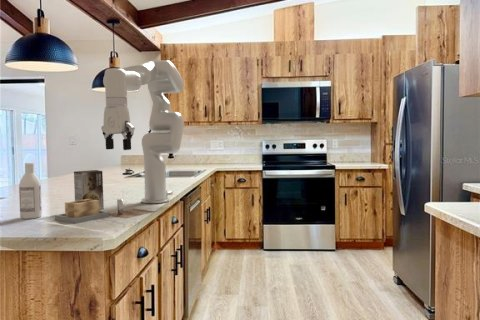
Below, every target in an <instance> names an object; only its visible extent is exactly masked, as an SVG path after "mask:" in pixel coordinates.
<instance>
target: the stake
mask: <svg viewBox="0 0 480 320" xmlns="http://www.w3.org/2000/svg"><path fill="white" fill-rule="evenodd" d="M116 200H117V201H116V203H117V204H116V205H117V212H118V215H123V211H124V199H123V198H122V199H121V198H119V199H116Z"/></svg>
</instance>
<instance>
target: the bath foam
mask: <svg viewBox="0 0 480 320" xmlns="http://www.w3.org/2000/svg"><path fill="white" fill-rule="evenodd" d="M18 192H19V193H18V194H19V217H20V219H23V220H31V219H38V218H40V217H42V183H41V181H40V179H39V177H38V176H37V175H36V173H35V163H34V162H25V163H24V174H23V176H22V177H21V179H20V181H19V187H18Z"/></svg>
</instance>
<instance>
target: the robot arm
mask: <svg viewBox="0 0 480 320" xmlns="http://www.w3.org/2000/svg"><path fill="white" fill-rule="evenodd" d="M102 79H103V80H102V82H103V83H102V84H103V86H104V89H105V91H104V92H105V106H104V113H103V125H102V126H101V131H102V135H103V139H105V149H106V150H114V148H115V147H114V145H115V144H114V138H113V137H114V135H119V134H120V135H121V136H122V137H123V138H122V149H123V151H130V150H132V139H133V136H134V135H135V134H134V132H135V129H136V127H135V126H134V125H133V124H132V123H131V118H130V111H129V107H128V92H134V91H138V90H139V89H140V88H141V87H142V86H145V85H147V90H148V92H149V94H150V95H149V96H150V98H151V101H152V107H151V112H150V117H149V124H148V125H149V126H148V127H149V129H150V131H151V132H148V133H145V134H143V136H142V137H141V147H142V152H143V164H144V165H143V166H144V168H143V169H144V170H143V171H144V174H143V175H144V198H143V197H142V198H141V199H140V200H141V202H142V203H144V204H163V203H168V202H170V197H168V196H172V195H173V191H172V190H169V191H168V190H166V189H167V187H166V186H167V179H166V176H167V175H166V172H167V171H166V164H167V163H166V160H165V159H164V157H163V156H162V154H176V153H178V152H179V150H180V148H181V144H182V139H183V132H184V125H185V123H184V117H183V114H182V113H180V112H179V111H171V109H172V108H171V107H172V106H171V101H170V100H169V99H168V98H167V97H166V96H165V94H179V93H181V92H183V89H184V80H183V77H182V76H181V74H180V72H179V70H178V69H177V67H176V66H175V64H174V63H173V62H172V61H170V60H168V59H165V60H164V59H163V60H161V59H160V60H149V61H145V62H142V63H140V64H139V63H138V64H136V65H130V66H127V67H122V68H115V67H113V68H107V69H105V71H104V76H103V78H102Z"/></svg>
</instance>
